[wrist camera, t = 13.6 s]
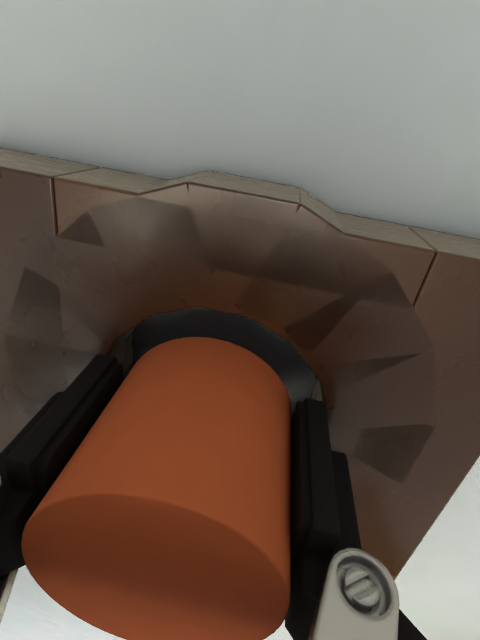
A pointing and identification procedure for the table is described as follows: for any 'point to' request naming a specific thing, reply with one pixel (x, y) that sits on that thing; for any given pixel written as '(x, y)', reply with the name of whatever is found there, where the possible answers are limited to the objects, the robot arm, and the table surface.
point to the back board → (254, 313)
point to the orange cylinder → (176, 502)
